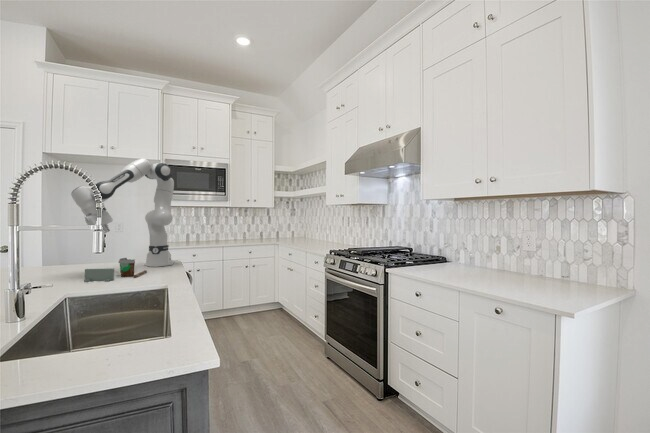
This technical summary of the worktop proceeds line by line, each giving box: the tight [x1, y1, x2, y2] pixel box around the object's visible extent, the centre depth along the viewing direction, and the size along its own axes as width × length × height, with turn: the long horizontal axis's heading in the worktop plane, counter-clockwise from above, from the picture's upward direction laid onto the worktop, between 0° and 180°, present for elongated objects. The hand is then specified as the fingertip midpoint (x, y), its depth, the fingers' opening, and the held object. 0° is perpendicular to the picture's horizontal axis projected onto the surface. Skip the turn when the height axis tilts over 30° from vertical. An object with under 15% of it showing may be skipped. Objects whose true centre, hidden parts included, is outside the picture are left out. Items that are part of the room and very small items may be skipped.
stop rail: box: [133, 270, 148, 279], centre depth 190 cm, size 16×1×2 cm, turn 9°
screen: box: [84, 268, 115, 283], centre depth 174 cm, size 4×14×6 cm, turn 99°
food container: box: [118, 257, 136, 278], centre depth 188 cm, size 12×6×10 cm, turn 53°
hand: (107, 231), depth 193 cm, fingers closed
